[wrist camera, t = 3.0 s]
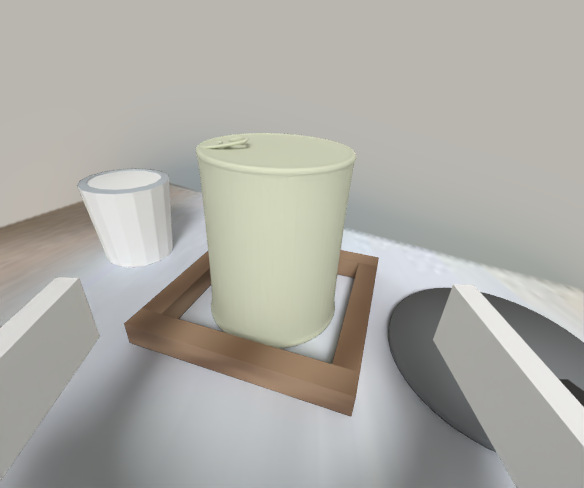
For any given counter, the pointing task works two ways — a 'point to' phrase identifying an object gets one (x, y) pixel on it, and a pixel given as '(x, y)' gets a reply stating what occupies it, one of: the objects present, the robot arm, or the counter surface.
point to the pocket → (256, 356)
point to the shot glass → (130, 214)
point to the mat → (436, 374)
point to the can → (274, 232)
